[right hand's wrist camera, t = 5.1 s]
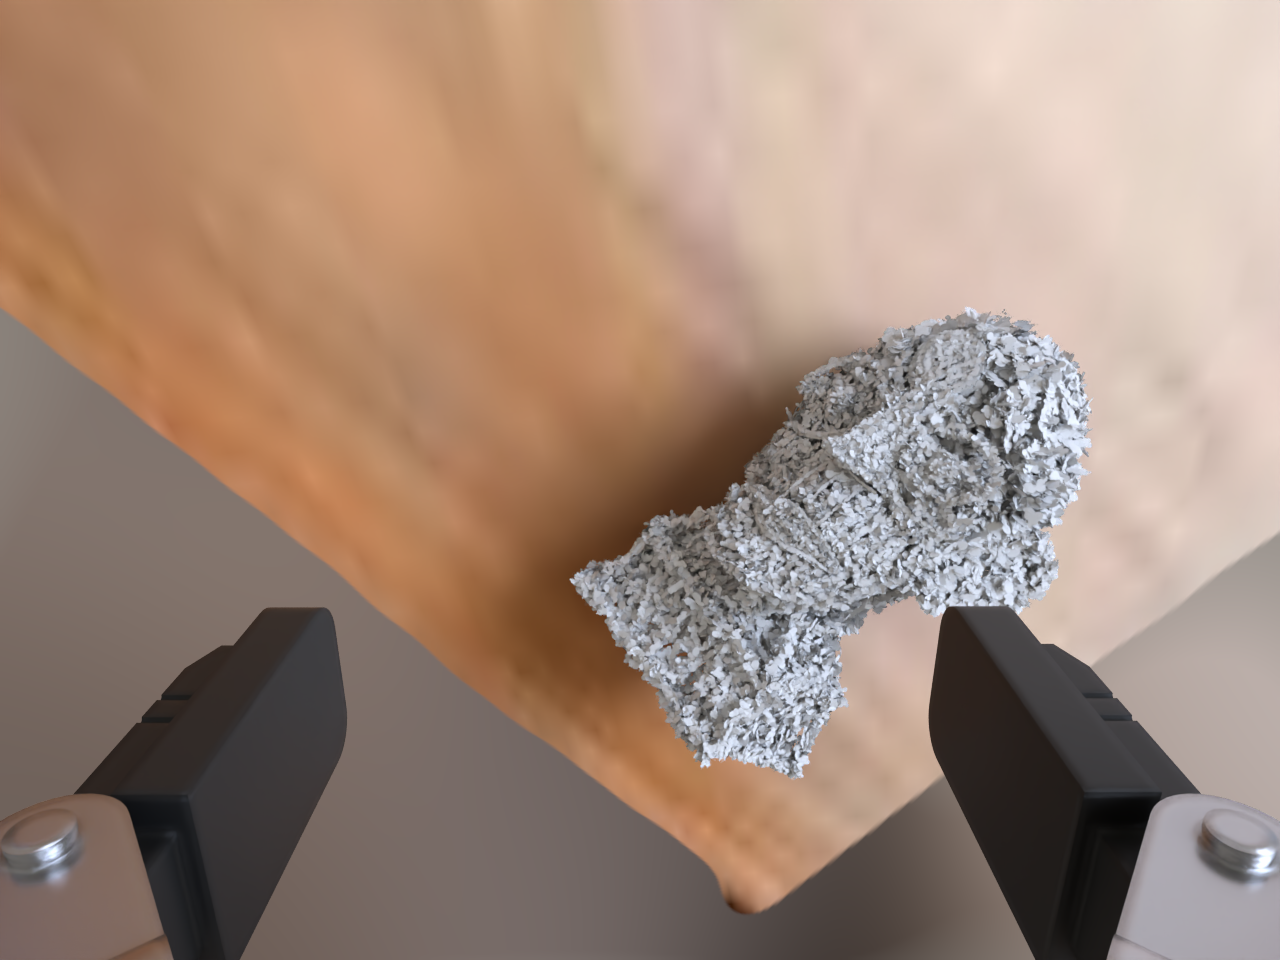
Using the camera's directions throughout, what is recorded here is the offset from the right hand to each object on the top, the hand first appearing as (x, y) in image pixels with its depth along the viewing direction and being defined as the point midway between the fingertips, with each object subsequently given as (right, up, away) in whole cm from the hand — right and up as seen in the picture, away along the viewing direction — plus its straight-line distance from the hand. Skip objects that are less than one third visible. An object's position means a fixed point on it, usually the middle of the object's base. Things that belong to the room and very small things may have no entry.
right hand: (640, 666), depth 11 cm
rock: (+10, +3, +41) cm, 42 cm away
